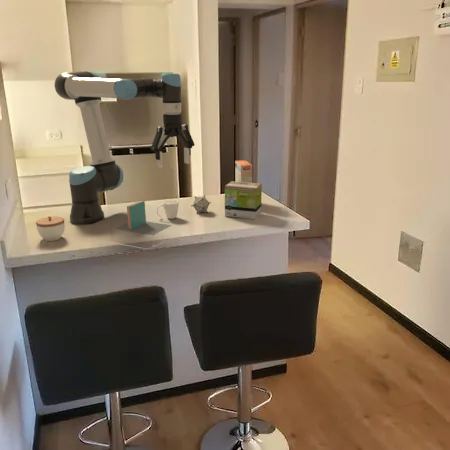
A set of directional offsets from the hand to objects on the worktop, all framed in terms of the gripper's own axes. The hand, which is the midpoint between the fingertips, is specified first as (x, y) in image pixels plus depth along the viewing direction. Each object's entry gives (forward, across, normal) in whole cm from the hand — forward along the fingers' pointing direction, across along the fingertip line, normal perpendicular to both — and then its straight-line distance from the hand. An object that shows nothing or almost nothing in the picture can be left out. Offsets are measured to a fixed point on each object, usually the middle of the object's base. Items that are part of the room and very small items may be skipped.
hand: (173, 165), depth 198 cm
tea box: (+26, +31, -10) cm, 42 cm away
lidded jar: (+27, -47, +19) cm, 58 cm away
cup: (+27, +2, +8) cm, 28 cm away
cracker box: (+26, +45, +5) cm, 52 cm away
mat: (+26, -13, +5) cm, 30 cm away
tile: (+26, -14, +8) cm, 30 cm away
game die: (+26, +20, +7) cm, 34 cm away
